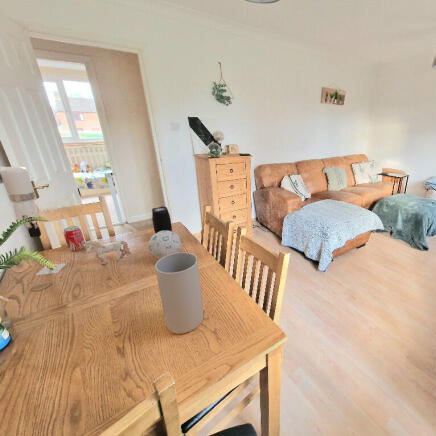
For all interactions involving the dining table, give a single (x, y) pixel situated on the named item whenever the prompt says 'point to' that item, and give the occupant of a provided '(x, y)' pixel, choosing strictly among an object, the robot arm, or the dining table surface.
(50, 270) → the grey square slab
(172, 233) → the puzzle ball
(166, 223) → the portable speaker
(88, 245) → the unicorn figurine
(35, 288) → the cork coaster
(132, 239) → the dining table surface
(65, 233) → the soda can
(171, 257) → the cylinder vase
